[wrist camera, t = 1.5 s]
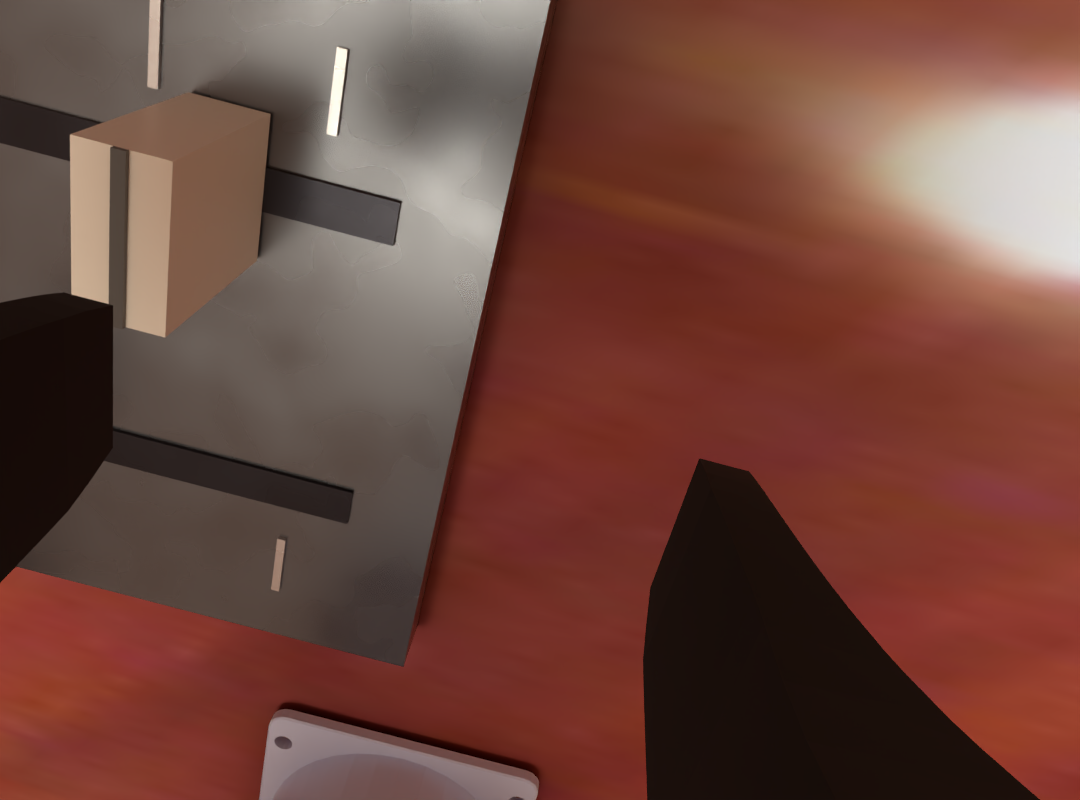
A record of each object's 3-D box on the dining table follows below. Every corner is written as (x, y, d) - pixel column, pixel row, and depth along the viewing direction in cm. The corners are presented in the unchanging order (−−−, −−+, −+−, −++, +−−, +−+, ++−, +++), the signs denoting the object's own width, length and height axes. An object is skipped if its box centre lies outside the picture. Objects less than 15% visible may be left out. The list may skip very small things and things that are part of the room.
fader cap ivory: (257, 260, 19) (162, 340, 15) (181, 240, 19) (67, 315, 15) (270, 114, 17) (169, 162, 14) (188, 92, 17) (66, 135, 14)
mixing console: (416, 627, 25) (402, 670, 24) (-341, 431, 25) (-401, 462, 23) (569, -53, 17) (561, -52, 16) (-542, -349, 17) (-654, -375, 15)
